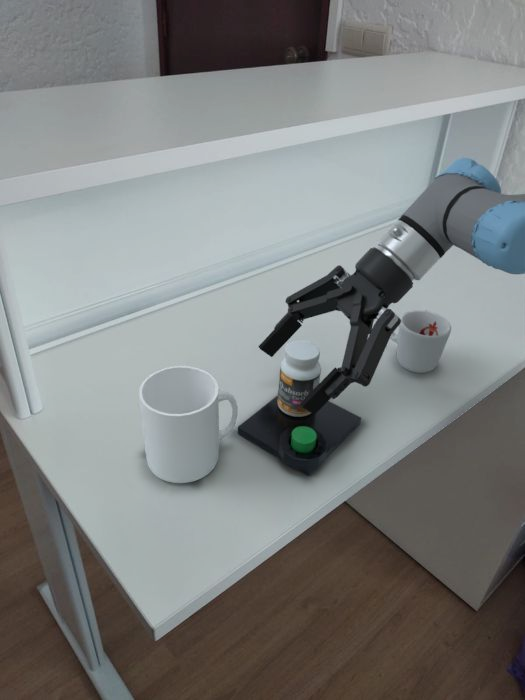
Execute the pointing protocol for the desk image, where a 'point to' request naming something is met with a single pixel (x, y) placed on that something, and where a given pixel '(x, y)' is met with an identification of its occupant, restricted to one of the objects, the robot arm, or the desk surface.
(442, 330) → the cup
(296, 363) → the pill bottle
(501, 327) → the desk surface
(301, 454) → the scale
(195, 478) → the mug
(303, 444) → the tare button
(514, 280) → the desk surface
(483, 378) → the desk surface
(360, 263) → the robot arm
